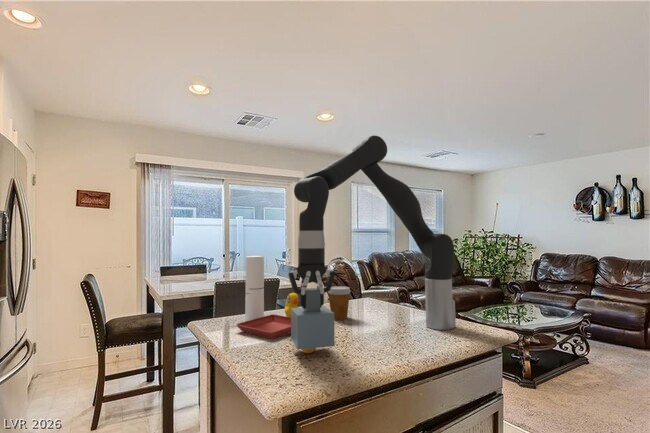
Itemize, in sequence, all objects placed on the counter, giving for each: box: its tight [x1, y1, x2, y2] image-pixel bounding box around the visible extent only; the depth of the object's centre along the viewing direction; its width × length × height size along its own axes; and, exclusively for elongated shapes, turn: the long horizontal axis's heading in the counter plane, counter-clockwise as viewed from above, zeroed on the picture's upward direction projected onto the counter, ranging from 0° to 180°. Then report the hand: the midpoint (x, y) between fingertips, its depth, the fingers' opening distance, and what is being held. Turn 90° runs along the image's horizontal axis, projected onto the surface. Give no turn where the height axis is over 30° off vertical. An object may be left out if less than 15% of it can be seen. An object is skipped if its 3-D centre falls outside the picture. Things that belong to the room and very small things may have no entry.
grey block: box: [290, 287, 336, 350], centre depth 98 cm, size 10×10×15 cm
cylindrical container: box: [244, 255, 265, 322], centre depth 138 cm, size 7×7×25 cm
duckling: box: [284, 292, 300, 317], centre depth 141 cm, size 11×5×10 cm, turn 21°
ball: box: [300, 348, 317, 354], centre depth 98 cm, size 5×5×5 cm
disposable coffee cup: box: [326, 285, 352, 321], centre depth 140 cm, size 10×10×12 cm
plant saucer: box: [235, 313, 291, 340], centre depth 122 cm, size 18×18×3 cm
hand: (311, 307), depth 99 cm, fingers closed on grey block, 4 cm apart
